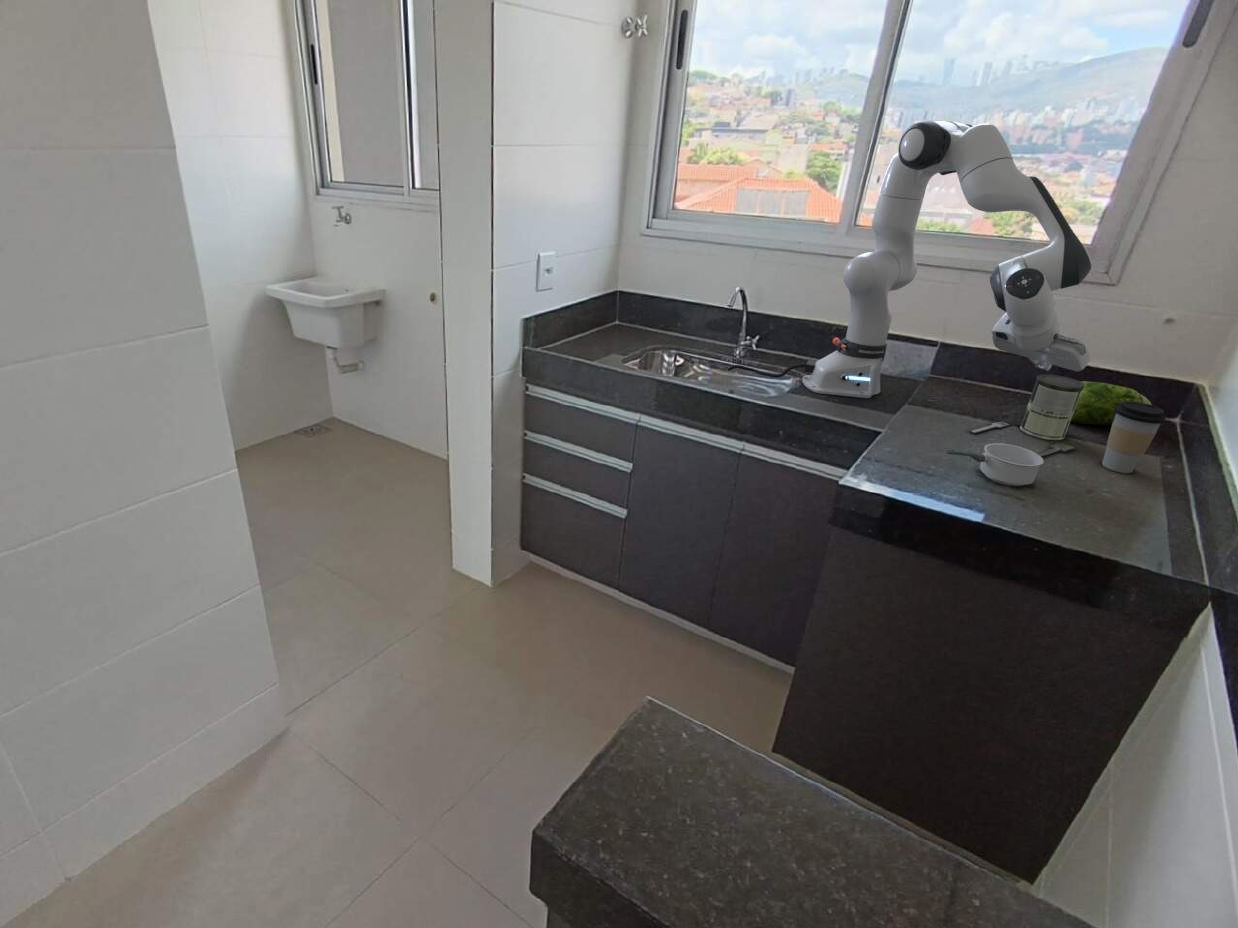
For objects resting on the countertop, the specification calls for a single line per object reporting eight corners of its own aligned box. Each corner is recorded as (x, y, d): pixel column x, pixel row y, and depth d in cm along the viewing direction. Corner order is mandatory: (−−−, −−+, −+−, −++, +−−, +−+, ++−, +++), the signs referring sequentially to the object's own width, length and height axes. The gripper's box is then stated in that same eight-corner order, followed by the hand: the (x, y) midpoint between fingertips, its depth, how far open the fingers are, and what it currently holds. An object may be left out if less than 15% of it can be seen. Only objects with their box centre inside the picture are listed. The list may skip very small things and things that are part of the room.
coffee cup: (1144, 468, 152) (1171, 408, 146) (1138, 481, 146) (1166, 418, 140) (1097, 455, 158) (1121, 396, 152) (1089, 466, 152) (1113, 406, 145)
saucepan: (930, 462, 149) (936, 439, 147) (1017, 467, 149) (1025, 444, 147) (951, 485, 139) (959, 461, 136) (1046, 490, 139) (1055, 467, 136)
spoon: (1041, 460, 153) (1042, 457, 153) (1028, 455, 156) (1029, 452, 156) (1072, 449, 160) (1073, 447, 160) (1059, 444, 163) (1060, 442, 163)
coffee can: (1011, 423, 174) (1028, 373, 168) (1050, 426, 175) (1068, 375, 168) (1032, 439, 165) (1052, 386, 159) (1073, 441, 165) (1094, 388, 159)
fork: (976, 435, 166) (977, 433, 166) (967, 431, 168) (968, 429, 167) (1009, 425, 173) (1010, 424, 173) (1001, 422, 175) (1001, 420, 175)
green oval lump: (1153, 436, 172) (1171, 395, 167) (1071, 428, 174) (1087, 388, 169) (1127, 419, 182) (1144, 381, 177) (1050, 413, 184) (1064, 374, 179)
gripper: (1093, 331, 139) (1098, 369, 148) (1001, 309, 155) (1010, 345, 164) (1075, 353, 139) (1081, 391, 148) (984, 329, 154) (995, 365, 163)
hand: (1043, 367), depth 156 cm, fingers closed
